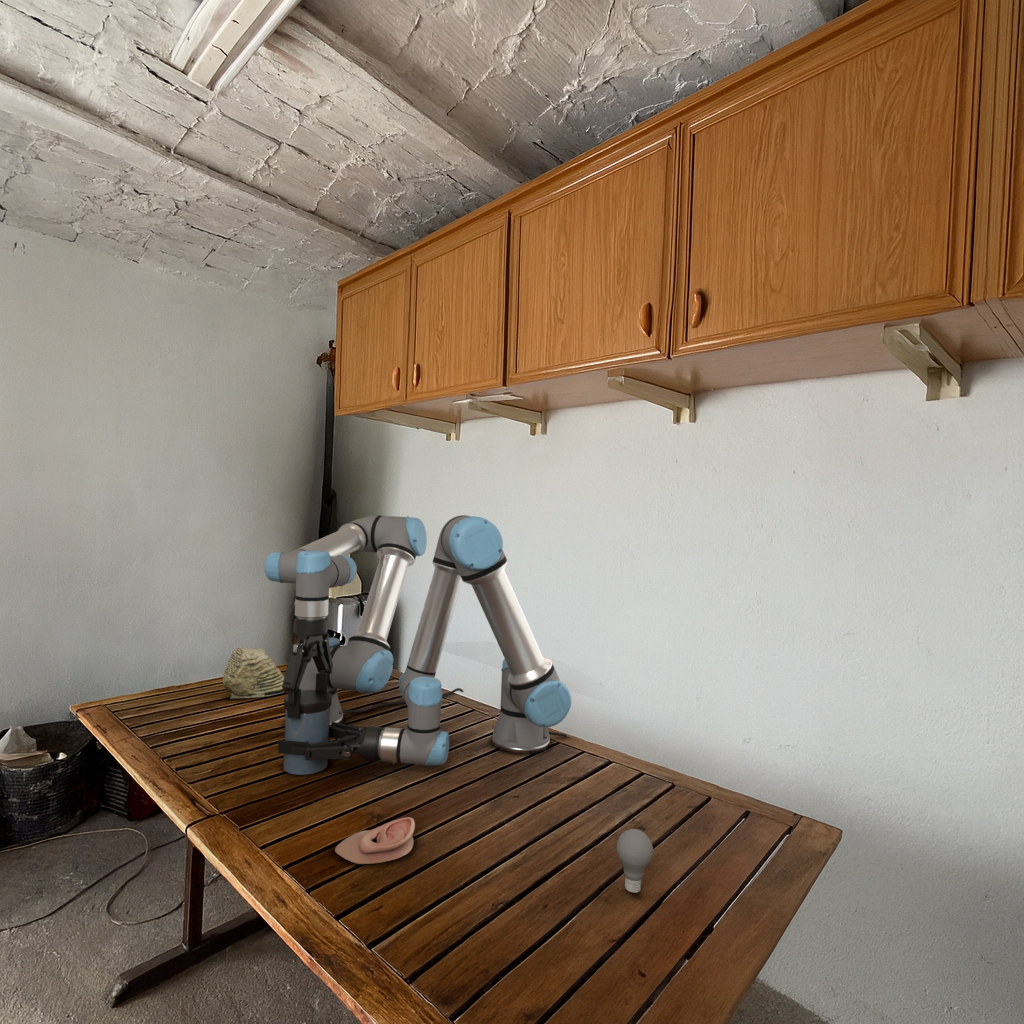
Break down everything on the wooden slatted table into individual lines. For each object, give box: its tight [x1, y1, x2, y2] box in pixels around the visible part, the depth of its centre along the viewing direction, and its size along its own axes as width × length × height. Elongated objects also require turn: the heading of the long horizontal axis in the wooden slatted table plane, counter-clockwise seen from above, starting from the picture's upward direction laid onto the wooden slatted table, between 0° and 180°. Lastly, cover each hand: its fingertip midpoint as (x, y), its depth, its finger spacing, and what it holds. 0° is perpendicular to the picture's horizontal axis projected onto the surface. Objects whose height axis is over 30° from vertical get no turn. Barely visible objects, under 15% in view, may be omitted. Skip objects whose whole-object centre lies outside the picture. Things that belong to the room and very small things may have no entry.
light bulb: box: [615, 828, 654, 894], centre depth 106 cm, size 6×6×10 cm
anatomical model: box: [334, 816, 416, 865], centre depth 115 cm, size 13×4×12 cm
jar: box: [282, 707, 330, 776], centre depth 149 cm, size 10×10×16 cm
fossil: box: [222, 646, 287, 699], centre depth 198 cm, size 9×18×15 cm, turn 132°
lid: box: [283, 690, 332, 713], centre depth 148 cm, size 11×11×2 cm
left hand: (307, 708), depth 148 cm, fingers open, 12 cm apart
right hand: (289, 737), depth 149 cm, fingers closed on jar, 10 cm apart
